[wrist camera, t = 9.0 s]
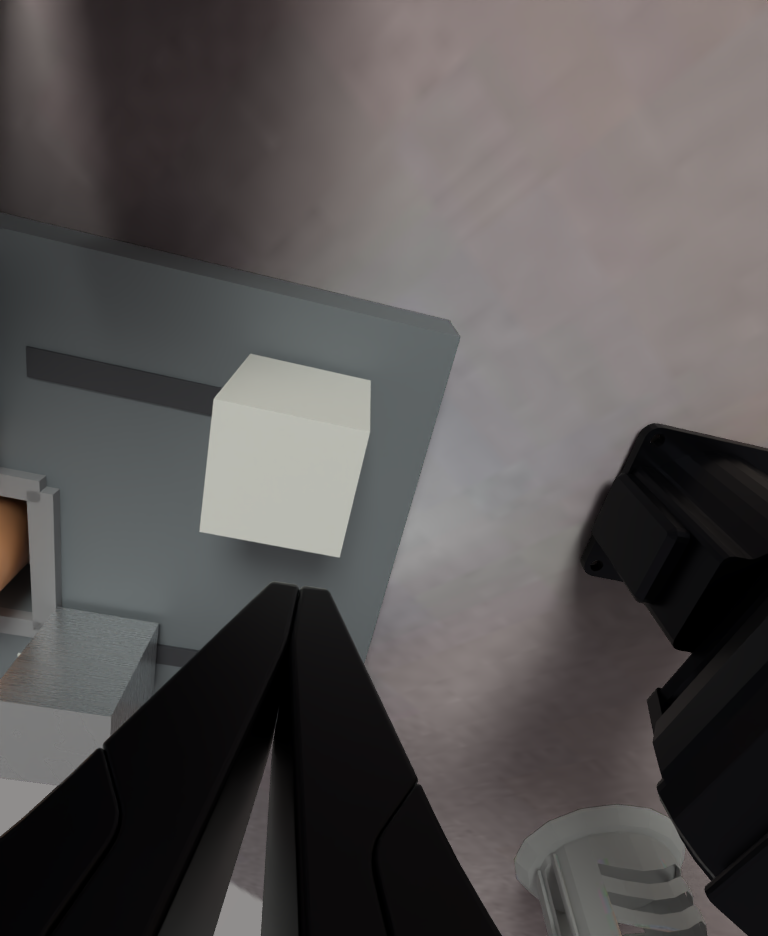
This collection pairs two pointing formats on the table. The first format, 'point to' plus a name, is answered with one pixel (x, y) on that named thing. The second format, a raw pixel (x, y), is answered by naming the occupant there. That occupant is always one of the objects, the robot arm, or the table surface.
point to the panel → (182, 432)
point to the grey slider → (72, 691)
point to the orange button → (13, 538)
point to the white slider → (285, 455)
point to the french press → (609, 874)
